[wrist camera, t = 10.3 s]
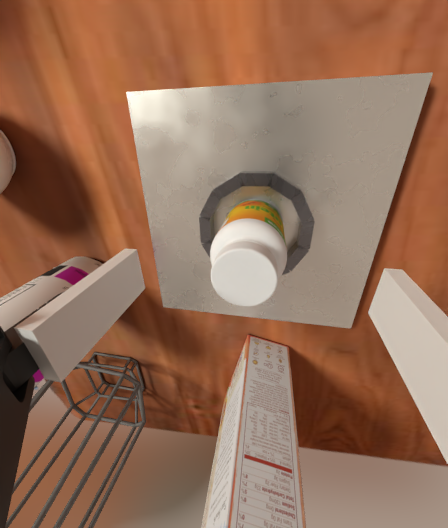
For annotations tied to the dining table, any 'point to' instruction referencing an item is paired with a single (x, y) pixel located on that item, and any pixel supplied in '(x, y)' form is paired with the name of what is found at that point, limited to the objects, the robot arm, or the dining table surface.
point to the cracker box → (257, 446)
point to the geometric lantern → (139, 399)
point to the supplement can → (43, 292)
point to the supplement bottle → (248, 253)
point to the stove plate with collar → (275, 183)
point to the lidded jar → (6, 161)
